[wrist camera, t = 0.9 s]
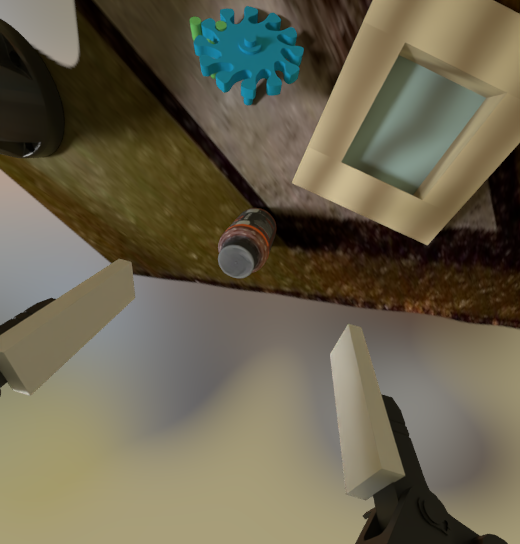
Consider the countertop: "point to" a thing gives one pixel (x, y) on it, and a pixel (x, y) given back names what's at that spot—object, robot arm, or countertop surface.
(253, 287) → the countertop surface
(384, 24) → the socket holder
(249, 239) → the supplement bottle
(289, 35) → the gear
